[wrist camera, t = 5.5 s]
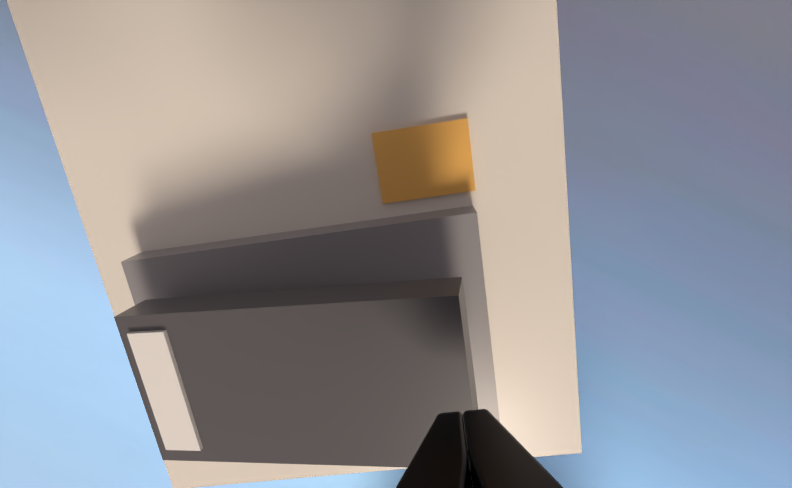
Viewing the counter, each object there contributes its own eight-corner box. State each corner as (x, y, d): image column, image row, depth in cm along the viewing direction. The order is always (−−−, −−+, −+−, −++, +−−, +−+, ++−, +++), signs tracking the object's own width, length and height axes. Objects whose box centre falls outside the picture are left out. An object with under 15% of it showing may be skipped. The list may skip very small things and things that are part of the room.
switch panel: (489, -659, 9) (519, -1006, 6) (561, 411, 15) (592, 475, 13) (-87, -479, 10) (-277, -703, 7) (202, 446, 17) (158, 512, 14)
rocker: (462, 276, 9) (458, 297, 8) (481, 436, 11) (480, 473, 9) (145, 299, 11) (110, 318, 10) (187, 433, 12) (160, 463, 11)
